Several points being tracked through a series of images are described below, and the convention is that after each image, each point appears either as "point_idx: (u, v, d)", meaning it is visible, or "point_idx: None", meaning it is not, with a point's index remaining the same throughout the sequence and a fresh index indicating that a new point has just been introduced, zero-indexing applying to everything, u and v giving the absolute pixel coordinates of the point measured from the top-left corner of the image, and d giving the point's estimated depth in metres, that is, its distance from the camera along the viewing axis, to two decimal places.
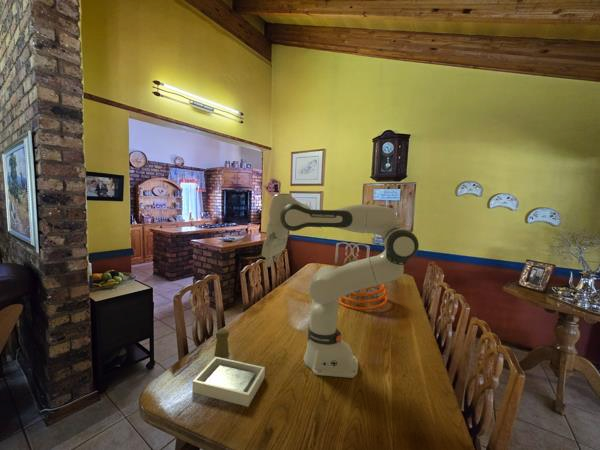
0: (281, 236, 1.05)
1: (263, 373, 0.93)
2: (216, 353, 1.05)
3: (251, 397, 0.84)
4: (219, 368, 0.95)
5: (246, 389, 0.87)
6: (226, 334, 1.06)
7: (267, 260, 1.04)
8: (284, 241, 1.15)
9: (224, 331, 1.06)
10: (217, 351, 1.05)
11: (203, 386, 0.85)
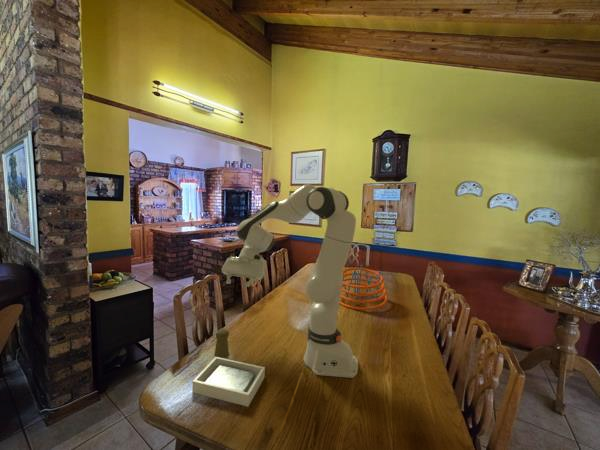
0: (239, 256, 1.23)
1: (263, 373, 0.93)
2: (216, 353, 1.05)
3: (251, 397, 0.84)
4: (219, 368, 0.95)
5: (246, 389, 0.87)
6: (226, 334, 1.06)
7: None
8: (257, 267, 1.20)
9: (224, 331, 1.06)
10: (217, 351, 1.05)
11: (203, 386, 0.85)
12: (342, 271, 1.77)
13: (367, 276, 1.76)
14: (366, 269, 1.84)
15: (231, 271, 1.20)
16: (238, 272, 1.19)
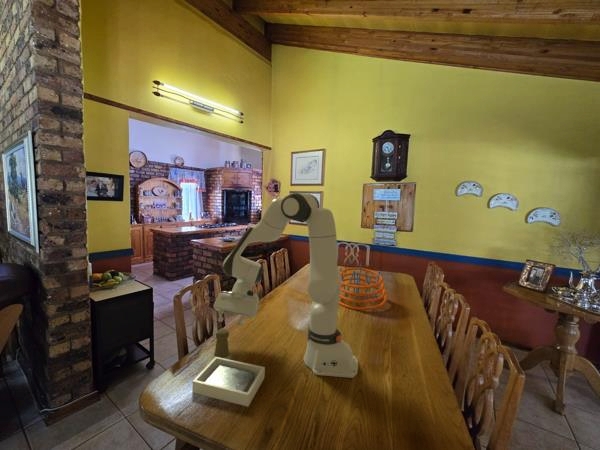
0: (232, 291, 1.19)
1: (263, 373, 0.93)
2: (216, 353, 1.05)
3: (251, 397, 0.84)
4: (219, 368, 0.95)
5: (246, 389, 0.87)
6: (226, 334, 1.06)
7: None
8: (250, 304, 1.15)
9: (224, 331, 1.06)
10: (217, 351, 1.05)
11: (203, 386, 0.85)
12: (341, 271, 1.77)
13: (366, 276, 1.76)
14: (365, 269, 1.84)
15: (223, 308, 1.16)
16: (230, 309, 1.15)
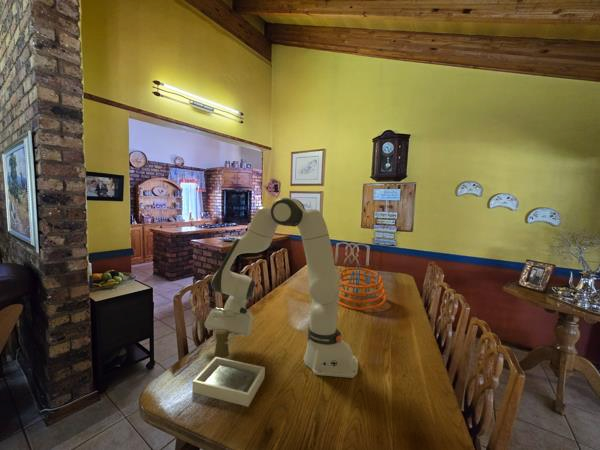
0: (224, 309, 1.13)
1: (263, 373, 0.93)
2: (216, 353, 1.05)
3: (251, 397, 0.84)
4: (219, 368, 0.95)
5: (246, 389, 0.87)
6: (226, 334, 1.06)
7: None
8: (243, 322, 1.09)
9: (224, 331, 1.06)
10: (217, 351, 1.05)
11: (203, 386, 0.85)
12: (341, 271, 1.77)
13: (365, 276, 1.76)
14: (365, 269, 1.84)
15: (215, 327, 1.09)
16: (222, 328, 1.09)
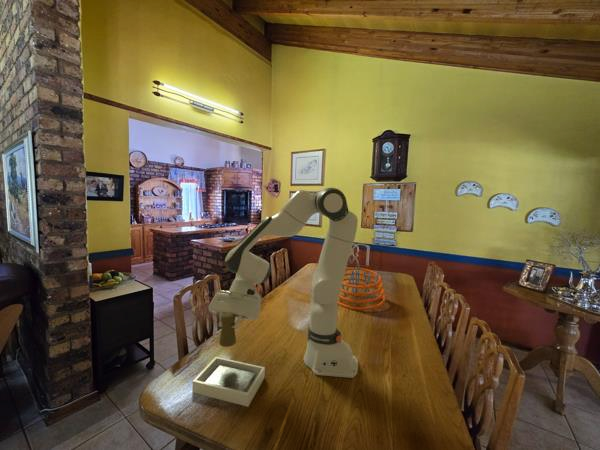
0: (229, 290, 1.03)
1: (263, 373, 0.93)
2: (222, 339, 0.95)
3: (251, 397, 0.84)
4: (219, 368, 0.95)
5: (246, 389, 0.87)
6: (232, 318, 0.96)
7: None
8: (251, 305, 0.99)
9: (230, 314, 0.96)
10: (223, 336, 0.95)
11: (203, 386, 0.85)
12: None
13: (365, 276, 1.76)
14: (364, 269, 1.85)
15: (220, 310, 0.99)
16: (228, 311, 0.99)
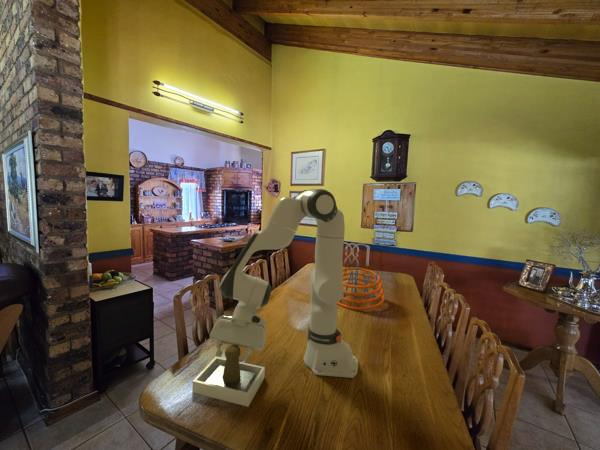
0: (232, 317, 0.95)
1: (263, 373, 0.93)
2: (225, 374, 0.88)
3: (251, 397, 0.84)
4: (219, 368, 0.95)
5: (246, 389, 0.87)
6: (237, 352, 0.88)
7: None
8: (256, 334, 0.91)
9: (235, 348, 0.89)
10: (226, 372, 0.88)
11: (203, 386, 0.85)
12: None
13: (364, 276, 1.76)
14: (363, 269, 1.85)
15: (222, 339, 0.92)
16: (231, 341, 0.91)
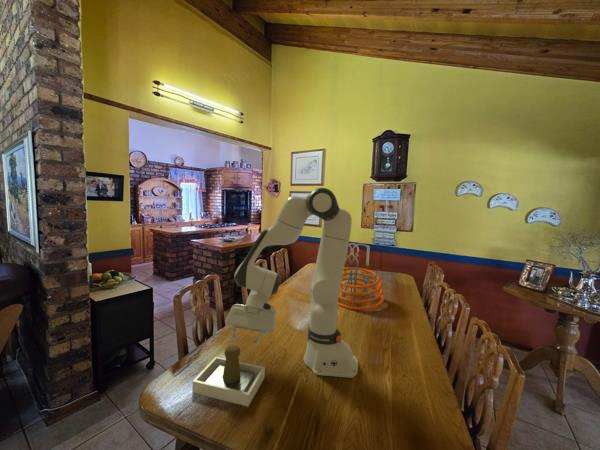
0: (246, 305, 1.06)
1: (263, 373, 0.93)
2: (225, 374, 0.88)
3: (251, 397, 0.84)
4: (219, 368, 0.95)
5: (246, 389, 0.87)
6: (237, 352, 0.88)
7: None
8: (268, 319, 1.02)
9: (235, 348, 0.89)
10: (226, 372, 0.88)
11: (203, 386, 0.85)
12: None
13: (363, 276, 1.76)
14: (362, 269, 1.85)
15: (237, 324, 1.03)
16: (245, 325, 1.02)
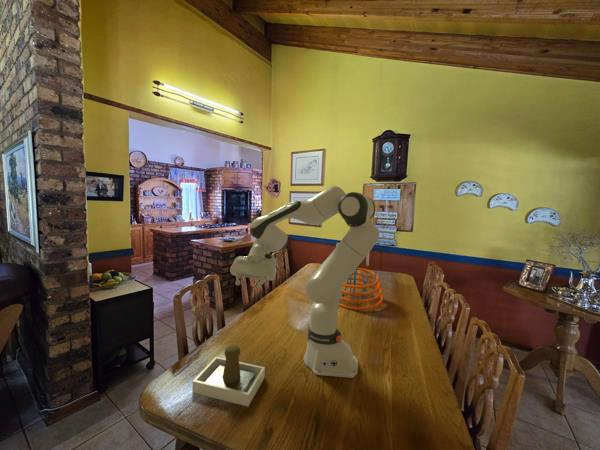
0: (248, 255, 1.14)
1: (263, 373, 0.93)
2: (225, 374, 0.88)
3: (251, 397, 0.84)
4: (219, 368, 0.95)
5: (246, 389, 0.87)
6: (237, 351, 0.89)
7: None
8: (269, 267, 1.11)
9: (235, 348, 0.89)
10: (226, 372, 0.88)
11: (203, 386, 0.85)
12: None
13: (363, 276, 1.76)
14: (361, 269, 1.85)
15: (240, 271, 1.11)
16: (248, 272, 1.10)
